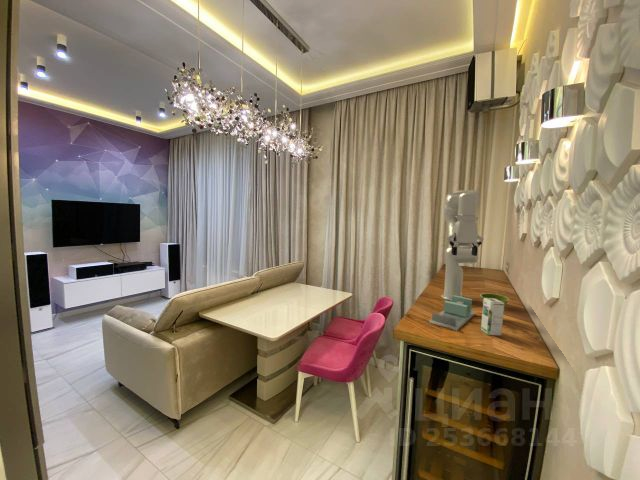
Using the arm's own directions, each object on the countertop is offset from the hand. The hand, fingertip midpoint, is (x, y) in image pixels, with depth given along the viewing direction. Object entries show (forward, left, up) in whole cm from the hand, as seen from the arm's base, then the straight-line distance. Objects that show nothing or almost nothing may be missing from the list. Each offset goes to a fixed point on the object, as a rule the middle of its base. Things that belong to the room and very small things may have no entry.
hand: (464, 255), depth 126 cm
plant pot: (-11, +11, -32) cm, 36 cm away
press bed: (+2, -3, -32) cm, 32 cm away
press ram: (-5, -3, -30) cm, 30 cm away
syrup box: (+7, +14, -32) cm, 35 cm away
